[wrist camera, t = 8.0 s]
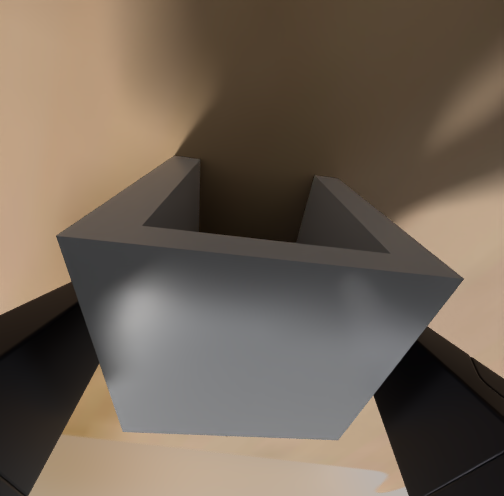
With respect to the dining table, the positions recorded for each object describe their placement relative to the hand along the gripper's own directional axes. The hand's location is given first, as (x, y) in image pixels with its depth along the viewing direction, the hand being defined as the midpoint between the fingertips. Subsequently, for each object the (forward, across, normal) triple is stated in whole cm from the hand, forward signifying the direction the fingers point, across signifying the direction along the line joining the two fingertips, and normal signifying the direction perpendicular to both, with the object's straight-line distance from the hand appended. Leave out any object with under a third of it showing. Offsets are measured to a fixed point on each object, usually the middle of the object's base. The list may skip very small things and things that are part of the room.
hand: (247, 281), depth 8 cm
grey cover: (+3, 0, 0) cm, 3 cm away
